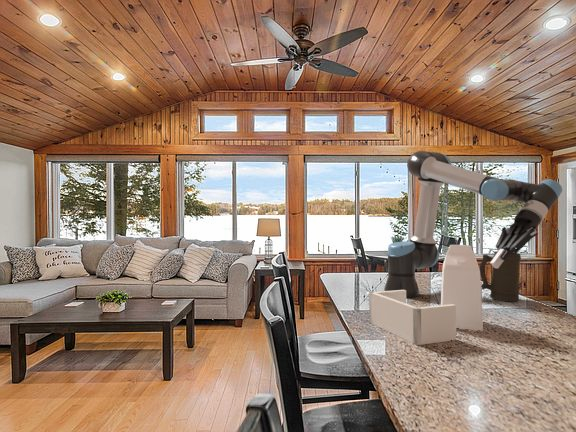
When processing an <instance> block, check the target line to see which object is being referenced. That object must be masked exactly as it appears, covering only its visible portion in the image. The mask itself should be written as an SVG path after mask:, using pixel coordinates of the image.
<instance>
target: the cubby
mask: <svg viewBox="0 0 576 432" xmlns="http://www.w3.org/2000/svg"><path fill="white" fill-rule="evenodd" d="M368 299H369V300H368V301H369V303H368V304H369V305H368V306H369V307H368V308H369V309H368V310H369V323H371V324H372V325H374V326H376V327H379V328H381V329H382V330H385V331H387V332H389V333H390V334H393V335H395V336H397V337H399V338H401V339H402V340H405V341H407V342H409V343H411V344H413V345H414V346H415V345H416V346H421V345H428V344H437V343H443V342H451V340H452V341H457V329H456V305H454V304H448V305H441V304H440V305H439V304H438V305H432V306H431V305H430V306H419V307H417V306H414V305H411V304H409V303H407V297H406V290H394V291H384V290H382V291H370V292H369V297H368Z"/></svg>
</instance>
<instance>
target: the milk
mask: <svg viewBox="0 0 576 432" xmlns="http://www.w3.org/2000/svg"><path fill="white" fill-rule="evenodd" d="M441 271H442V272H441V273H442V275H441V293H440V294H441V295H440V305H448V304H454V305H456V328H459V329H458V330H465V329H469V330H468V331H477V330H482V331H481V332H483V331H484V322H483V321H484V320H483V303H482V287H481V286H482V283H481V279H482V278H481V275H480V265H479V262H478V261H477V257H476V255H475V252H474V250H473V248H472V247H471V245H470V244H450V245H449V247H448V249H447V251H446V254H445V257H444V260H443V263H442V269H441Z"/></svg>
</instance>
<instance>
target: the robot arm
mask: <svg viewBox="0 0 576 432" xmlns="http://www.w3.org/2000/svg"><path fill="white" fill-rule="evenodd" d="M406 164H407V165H406V166H407V170H408V172H409V173H410V174H411V175H413V176H414V177H417V178H418V179H417V182H418V183H419V185H420V189H419V193H418V194H419V197H418V202H417V209H416V211H417V212H416V216H415V217H416V219H415V226H414V233H413V235H412V236H411V237H410V239H409V240H408V241H407V240H405V241H395V242H392V243H390V244H389V245H388V249H387V268H388V269H387V279H386V283H385V285H384V288H383V289H384V290H383V291H394V290H406V298H414V297H418V296H420V289H419V286H418V282H417V280H416V271H415V270H420V269H428V268H431V267H433V266H435V265H436V264H437V263H438V261H439V258H440V250H439V249H438V246H436V245H437V244H436V243H437V241H436V239H434V236H435V235H434V234H435V233H434V232H435V229H436V228H435V227H436V222H437V221H436V220H437V214H438V205H439V199H440V198H439V197H440V192H441V187H442V186H443V185H445V184H447V185H451V186H454V187H456V188H460V189H462V190H466V191H469V192H471V193H475V194H478V195H480V196H482V197H484V198H485V199H486V200H490V201H494V202H495V201H508V202H510V201H511V202H517V203H518V202H519V203H524V204H523V206H522V207H521V209H520V210H519V211H518V212H517V213H516V214H515V216H514V222H513V223H511V225H509V227H502V228H501V234H500V236H499V237H498V239H497V242H496V244H495V246H494V247H495V248H496V250H497V251H496V252H497V253H496V254H495V255H494V254H493V256H494V258H493V259H492V261H489V263H490V264H491V266H492V268H493V267H494V268H497V269H498V268H499V267H500V265H501V264H502V262H503V261H504V260H506V259H507V257H508V256H509V254H512V253H513V252H514V253H519V252H520V251H521V249H522V248H523V247H525V246H526V245H527V244H528V242H530V241H531V240H532V239H533V238H534V237H536V236H537V235H538V232H537V230H536V229H537V228H538V227H539V226H540V224H541V222H543V220H544V219H545V217H546V216H547V214H548V213H549V211H550V210H551V209H552V207H553V206H554V204H555V203H556V202H557V201H558V200H559V197H561V194H562V192H563V188H562V185H561V184H560V183H559V182H557V180H553V179H551V178H548V179H543V180H541V181H540V182H539V183H532V182H526V181H520V180H515V179H509V178H505V179H502V178H497V177H493V176H491V175H487V174H484V173H480V172H477V171H474V170H470V169H466V168H463V167H459V166H457V165H454V164H452V161H451V159H450V157H449V156H447V155H446V154H444V153H442V152H435V151H425V150H418V151H416V152H413V153H412V154H411V155H410V156H409V157H408V160H407V163H406Z"/></svg>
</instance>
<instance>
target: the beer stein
mask: <svg viewBox="0 0 576 432" xmlns="http://www.w3.org/2000/svg"><path fill="white" fill-rule="evenodd" d="M496 253H497V251H494V253H493V256H490V255H488V254H483V255H482V260H481V262H480V265H479V269H480V279H482V283H481V290H489V291H490V295H489V297H490V298H492V299H494V300H497V301H504V302H515V303H516V302H519V301H520V296H519V294H520V263H521V258H522V257H521V253H520V252H517V253H514V252H513V253H512V254H509V256H508V257H507V259H506V260H504V261H503V262H502V264H501V265H500V267H499V268H498V269H497V268H494V267H493V266H492V270H491V281H490V282H491V283H490V284H489V282H488V279H487V276H486V265H487V264H488V263H489V262H491V261H492V259H493V258H494V255H495V254H496Z"/></svg>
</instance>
